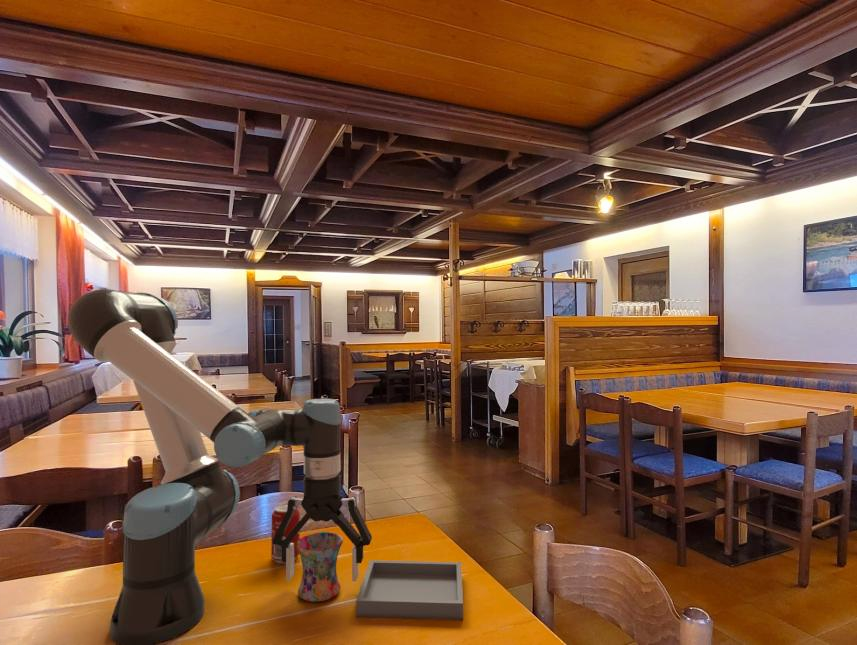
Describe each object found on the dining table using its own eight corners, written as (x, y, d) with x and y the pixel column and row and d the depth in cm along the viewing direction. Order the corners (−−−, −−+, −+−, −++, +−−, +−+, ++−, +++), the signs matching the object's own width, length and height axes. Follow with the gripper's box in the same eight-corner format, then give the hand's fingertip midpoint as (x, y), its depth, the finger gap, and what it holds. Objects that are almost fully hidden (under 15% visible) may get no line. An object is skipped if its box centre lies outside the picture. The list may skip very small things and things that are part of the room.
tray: (356, 616, 90) (356, 600, 90) (370, 573, 106) (370, 560, 106) (463, 619, 90) (463, 603, 90) (460, 576, 105) (460, 562, 106)
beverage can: (305, 557, 114) (305, 506, 114) (284, 568, 109) (284, 514, 109) (286, 550, 118) (287, 501, 118) (265, 560, 112) (266, 509, 113)
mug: (335, 607, 93) (336, 552, 94) (288, 605, 94) (289, 550, 94) (350, 576, 105) (350, 527, 106) (308, 574, 106) (308, 525, 106)
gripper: (255, 479, 97) (256, 586, 97) (379, 480, 96) (380, 588, 95) (269, 469, 104) (270, 568, 104) (384, 469, 103) (385, 569, 103)
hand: (322, 577), depth 100 cm, fingers open, 13 cm apart
